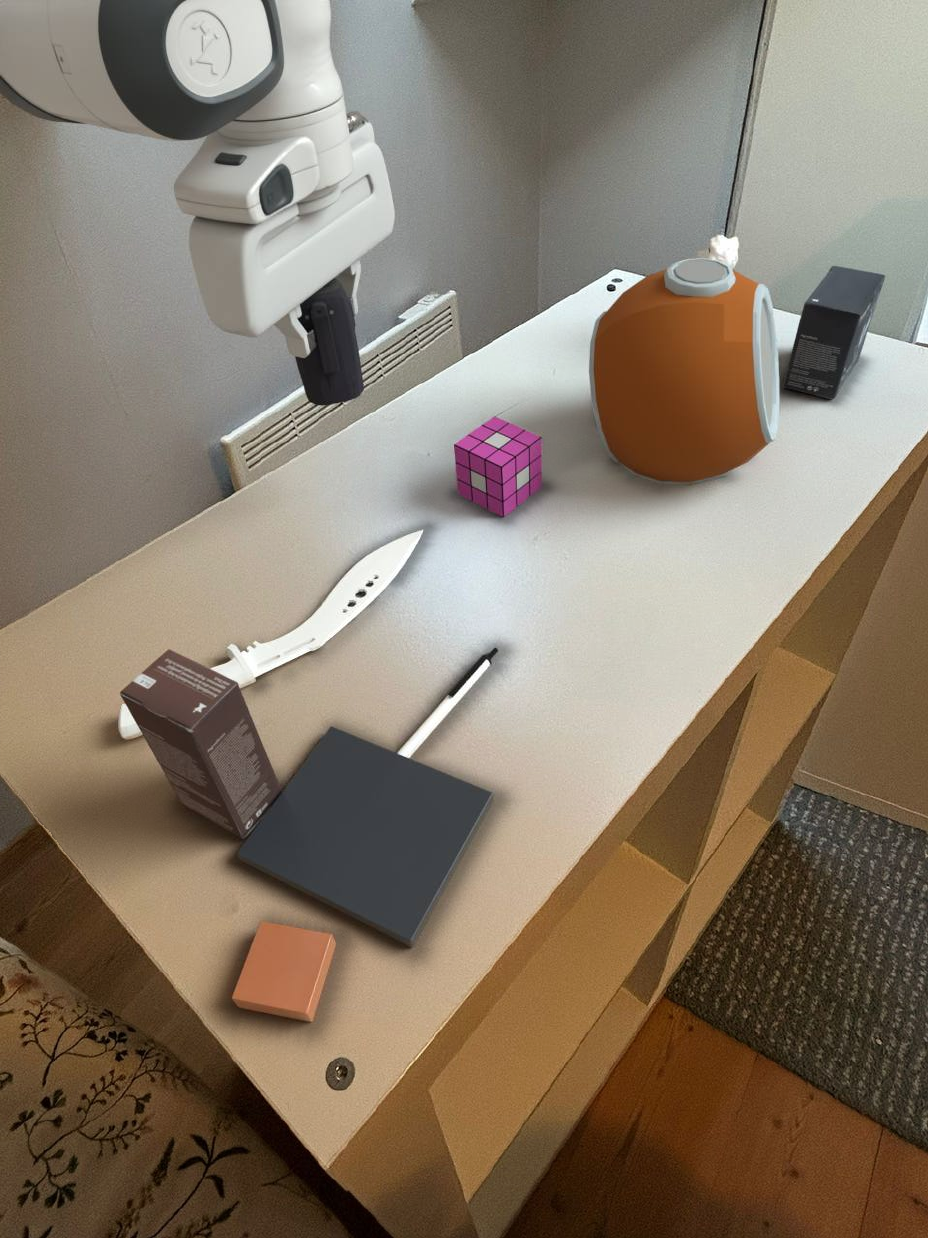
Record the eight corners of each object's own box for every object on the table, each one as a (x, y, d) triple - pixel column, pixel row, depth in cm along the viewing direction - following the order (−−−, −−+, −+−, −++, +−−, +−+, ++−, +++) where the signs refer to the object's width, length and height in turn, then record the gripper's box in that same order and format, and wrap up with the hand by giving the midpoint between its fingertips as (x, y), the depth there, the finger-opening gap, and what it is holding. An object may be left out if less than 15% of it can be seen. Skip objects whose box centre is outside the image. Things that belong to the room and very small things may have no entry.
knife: (421, 520, 74) (469, 566, 69) (423, 535, 75) (470, 581, 71) (89, 667, 63) (119, 734, 58) (97, 682, 64) (127, 748, 60)
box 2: (835, 402, 84) (861, 313, 77) (780, 389, 86) (801, 301, 79) (860, 359, 89) (887, 272, 82) (808, 348, 91) (830, 262, 84)
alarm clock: (761, 521, 72) (809, 338, 60) (566, 492, 77) (572, 316, 64) (777, 403, 84) (819, 230, 72) (608, 384, 89) (620, 218, 76)
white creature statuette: (668, 317, 98) (680, 212, 89) (742, 326, 95) (763, 219, 87) (649, 357, 92) (661, 249, 83) (728, 368, 89) (748, 258, 81)
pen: (501, 655, 64) (500, 645, 63) (338, 842, 54) (335, 834, 53) (491, 651, 64) (490, 641, 64) (328, 836, 54) (325, 827, 54)
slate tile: (239, 860, 53) (235, 853, 53) (333, 733, 60) (330, 725, 59) (412, 949, 49) (410, 942, 48) (494, 800, 55) (493, 792, 54)
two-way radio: (364, 379, 73) (331, 204, 62) (373, 407, 70) (340, 228, 59) (302, 392, 72) (258, 217, 61) (309, 420, 69) (264, 243, 58)
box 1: (287, 790, 57) (240, 680, 48) (243, 842, 54) (186, 737, 45) (223, 754, 59) (167, 644, 50) (178, 803, 57) (111, 696, 48)
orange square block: (238, 1007, 47) (231, 998, 46) (266, 931, 50) (260, 920, 49) (312, 1022, 46) (306, 1014, 45) (336, 943, 49) (331, 933, 48)
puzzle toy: (542, 487, 78) (542, 436, 73) (503, 518, 75) (501, 467, 71) (496, 465, 80) (494, 415, 76) (457, 494, 78) (452, 444, 74)
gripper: (332, 99, 64) (360, 274, 74) (154, 196, 52) (216, 389, 62) (402, 105, 62) (421, 285, 72) (232, 208, 50) (283, 406, 60)
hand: (325, 334), depth 67 cm, fingers closed on two-way radio, 5 cm apart
